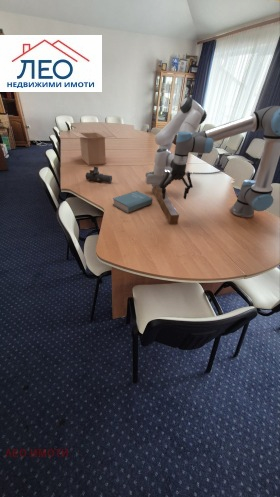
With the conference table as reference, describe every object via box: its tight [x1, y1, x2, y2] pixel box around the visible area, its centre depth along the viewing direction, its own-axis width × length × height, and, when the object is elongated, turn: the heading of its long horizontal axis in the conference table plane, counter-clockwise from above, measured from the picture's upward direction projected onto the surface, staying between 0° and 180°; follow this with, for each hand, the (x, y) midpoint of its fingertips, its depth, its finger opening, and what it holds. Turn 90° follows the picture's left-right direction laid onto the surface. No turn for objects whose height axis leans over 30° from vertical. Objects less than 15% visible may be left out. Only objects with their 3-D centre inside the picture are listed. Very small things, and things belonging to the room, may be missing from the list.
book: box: [112, 190, 153, 214], centre depth 155 cm, size 23×16×5 cm
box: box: [70, 129, 114, 166], centre depth 229 cm, size 44×36×27 cm
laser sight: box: [85, 166, 113, 184], centre depth 187 cm, size 10×22×10 cm, turn 78°
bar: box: [151, 184, 180, 225], centre depth 159 cm, size 56×5×6 cm, turn 9°
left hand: (157, 189), depth 176 cm, fingers closed on bar, 5 cm apart
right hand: (174, 198), depth 136 cm, fingers open, 13 cm apart
